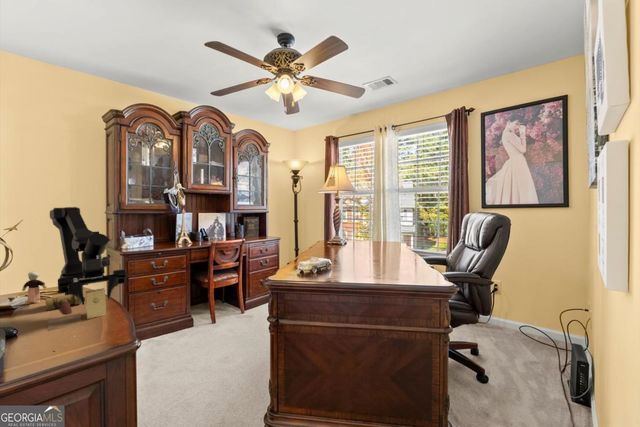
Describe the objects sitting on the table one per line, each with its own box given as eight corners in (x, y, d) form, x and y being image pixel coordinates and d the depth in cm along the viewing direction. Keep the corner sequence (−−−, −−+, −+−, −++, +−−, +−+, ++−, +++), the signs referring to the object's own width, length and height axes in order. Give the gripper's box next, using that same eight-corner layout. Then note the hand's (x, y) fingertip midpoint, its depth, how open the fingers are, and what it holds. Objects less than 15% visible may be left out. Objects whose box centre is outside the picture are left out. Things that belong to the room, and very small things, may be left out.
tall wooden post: (86, 320, 98) (85, 291, 98) (105, 316, 102) (104, 288, 101) (87, 323, 96) (86, 293, 96) (106, 319, 99) (105, 290, 99)
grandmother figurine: (19, 305, 115) (18, 273, 115) (23, 303, 118) (21, 271, 118) (46, 302, 119) (44, 271, 118) (48, 299, 122) (47, 269, 122)
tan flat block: (48, 323, 96) (47, 319, 96) (81, 317, 102) (81, 312, 102) (46, 336, 87) (46, 331, 87) (83, 328, 92) (82, 323, 92)
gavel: (87, 307, 103) (48, 316, 96) (87, 320, 103) (49, 329, 96) (79, 290, 117) (45, 296, 110) (80, 301, 118) (46, 308, 111)
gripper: (56, 253, 95) (57, 294, 87) (125, 246, 107) (131, 282, 99) (57, 273, 101) (59, 313, 93) (122, 265, 113) (128, 300, 105)
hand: (96, 301), depth 98 cm, fingers open, 6 cm apart
